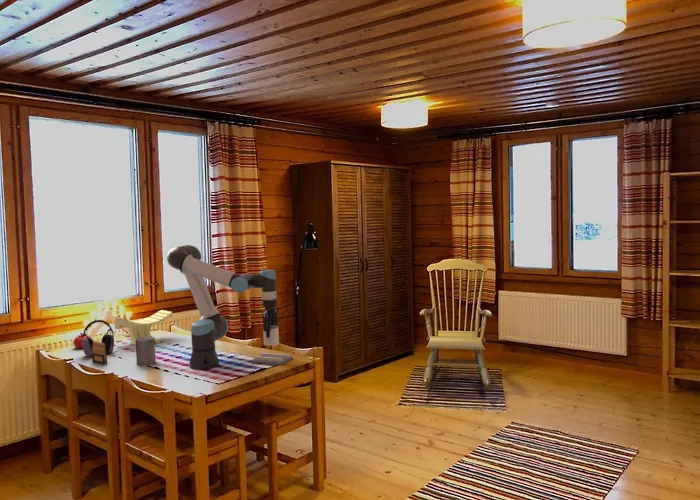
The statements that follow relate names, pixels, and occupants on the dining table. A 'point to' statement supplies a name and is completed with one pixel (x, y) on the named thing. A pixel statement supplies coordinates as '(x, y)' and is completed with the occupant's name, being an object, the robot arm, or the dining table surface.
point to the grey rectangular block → (272, 335)
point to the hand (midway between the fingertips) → (271, 342)
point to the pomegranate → (79, 341)
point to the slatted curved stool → (142, 325)
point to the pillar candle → (145, 350)
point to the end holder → (272, 358)
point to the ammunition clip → (99, 353)
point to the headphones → (107, 340)
